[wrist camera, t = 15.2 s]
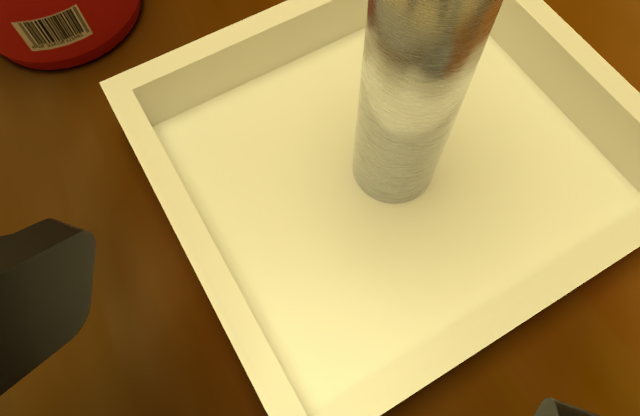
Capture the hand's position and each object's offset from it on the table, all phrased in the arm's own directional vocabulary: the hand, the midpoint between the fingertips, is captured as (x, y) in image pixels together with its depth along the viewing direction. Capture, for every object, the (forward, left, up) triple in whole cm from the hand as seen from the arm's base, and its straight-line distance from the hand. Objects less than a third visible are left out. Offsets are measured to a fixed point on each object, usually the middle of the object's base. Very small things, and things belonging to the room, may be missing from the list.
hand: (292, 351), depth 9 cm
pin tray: (-8, -6, -11) cm, 15 cm away
